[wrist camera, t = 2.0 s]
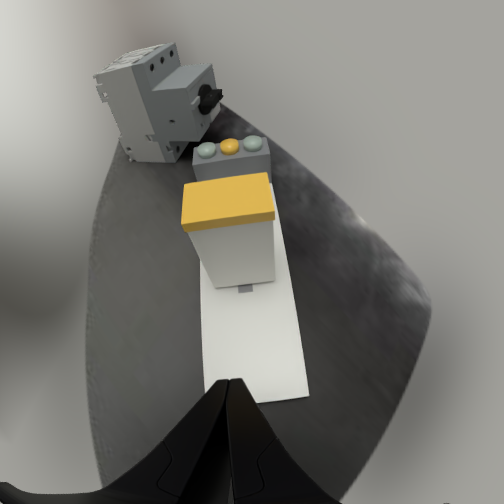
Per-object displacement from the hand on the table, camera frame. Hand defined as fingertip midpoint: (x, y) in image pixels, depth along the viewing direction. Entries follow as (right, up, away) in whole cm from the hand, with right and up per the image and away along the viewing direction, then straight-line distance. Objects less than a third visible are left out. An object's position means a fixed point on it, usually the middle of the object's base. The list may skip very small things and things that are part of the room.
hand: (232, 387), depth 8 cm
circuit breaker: (-9, +20, +29) cm, 36 cm away
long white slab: (0, +3, +17) cm, 17 cm away
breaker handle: (0, +3, +15) cm, 15 cm away
